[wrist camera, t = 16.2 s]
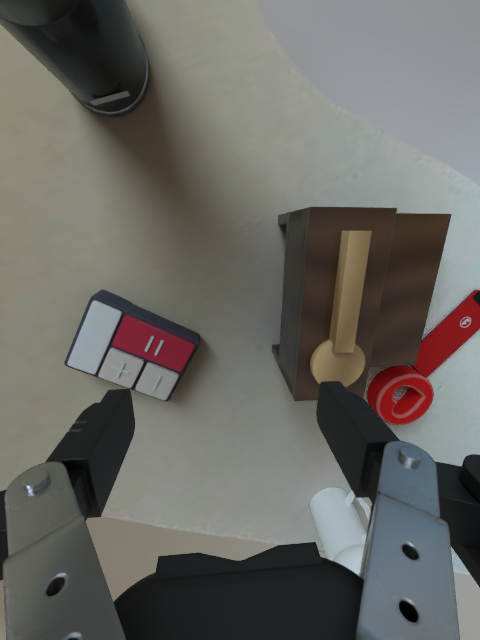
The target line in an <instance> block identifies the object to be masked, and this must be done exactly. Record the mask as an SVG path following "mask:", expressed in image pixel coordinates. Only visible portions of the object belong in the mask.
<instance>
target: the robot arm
mask: <svg viewBox="0 0 480 640" xmlns="http://www.w3.org/2000/svg"><path fill="white" fill-rule="evenodd" d="M0 24H1V25H2V26H3V27H4V28H5V29H6V30H7V31H8V32H9V33H10V34H11V35H12V36H13V37H14V38H15V39H16V40H17V41H18V42H20V43H21V44H22V45H23V46H24V47H25V48H26V49H27V50H28V51H29V52H30V53H31V54H32V55H33V56H34V57H35V58H36V59H37V60H38V61H39V62H40V63H41V64H43V65H44V66H45V67H46V68H47V69H48V70H49V71H50V72H51V73H52V74H53V75H54V76H55V77H56V78H57V79H58V80H59V81H60V82H61V83H62V84H63V85H64V86H65V87H67V88H68V89H69V91H70V92H71V93H72V94H73V95H74V96H75V97H76V98H77V99H78V100H79V101H80V102H81V103H82V104H83V105H84V106H86V107H87V108H89V109H90V110H92V111H94V112H96V113H98V114H101V115H105V116H120V115H124V114H126V113H128V112H130V111H132V110H133V109H134V108H135V107H137V106H138V104H139V103H140V102H141V101H142V99H143V97H144V95H145V93H146V90H147V87H148V83H149V62H148V57H147V53H146V50H145V47H144V45H143V42H142V40H141V38H140V36H139V34H138V32H137V30H136V27H135V25H134V22H133V19H132V17H131V14H130V12H129V9H128V7H127V4H126V2H125V0H0ZM316 415H317V422H318V425H319V428H320V430H321V432H322V433H323V435H324V437H325V439H326V441H327V443H328V445H329V447H330V449H331V451H332V453H333V454H334V456H335V458H336V460H337V462H338V464H339V466H340V468H341V470H342V472H343V474H344V475H345V477H346V479H347V481H348V483H349V485H350V487H351V489H352V491H353V493H354V495H355V496H356V498H363V497H369V498H370V500H371V502H372V506H371V511H370V517H369V522H368V528H367V534H366V540H365V545H364V551H363V557H362V562H361V568H360V573H359V576H358V575H357V574H356V573H354V572H353V571H351V570H350V569H348V568H346V567H345V566H343V565H341V564H339V563H337V562H335V561H332V560H329V559H326V558H322V557H320V555H319V551H318V548H317V545H316V542H311V543H300V544H289V545H278V546H276V547H274V548H271V549H269V550H266V551H264V552H262V553H259V554H257V555H254V556H252V557H250V558H247V559H245V560H242V561H235V560H230V559H225V558H221V557H216V556H211V555H207V554H202V553H190V554H179V555H168V556H159V557H158V563H157V568H156V573H153V574H151V575H149V576H147V577H145V578H143V579H141V580H140V581H138V582H137V583H135V584H134V585H132V586H131V587H130V588H128V589H127V590H126V591H125V592H124V593H122V594H121V595H120V596H119V597H118V598H117V599H116V600H115V601H114V602H113V600H112V597H111V594H110V591H109V588H108V586H107V582H106V580H105V577H104V574H103V571H102V568H101V565H100V562H99V559H98V556H97V553H96V551H95V547H94V545H93V542H92V539H91V536H90V533H89V530H88V527H87V524H86V520H87V518H91V517H101V515H102V512H103V510H104V507H105V505H106V502H107V500H108V497H109V495H110V492H111V490H112V487H113V485H114V482H115V480H116V478H117V475H118V473H119V470H120V468H121V465H122V463H123V460H124V458H125V455H126V453H127V450H128V448H129V445H130V443H131V440H132V438H133V435H134V430H135V418H134V411H133V404H132V397H131V392H130V390H129V389H116V390H108V392H107V393H106V394H105V396H104V397H103V399H102V400H101V402H100V403H94V404H92V405H91V406H90V407H88V408H87V409H85V410H84V411H83V412H82V413H81V414H80V416H79V417H78V418H77V420H76V421H75V424H73V425H72V427H71V428H70V429H69V432H67V433H66V435H65V436H64V437H63V439H62V440H61V441H60V443H59V444H58V446H57V447H56V448H55V450H54V451H53V452H52V454H51V455H50V456H49V458H48V459H47V460H46V462H45V463H42V464H39V465H36V466H34V467H32V468H30V469H28V470H26V471H25V472H23V473H22V474H20V475H19V476H18V477H17V478H15V479H14V480H13V481H12V482H11V484H10V485H9V486H8V488H7V490H4V491H0V580H3V582H4V603H5V621H6V640H460V634H459V624H458V616H457V606H456V605H457V604H456V595H455V584H454V574H453V565H452V555H451V546H452V548H453V549H454V551H455V552H456V554H457V555H458V556H459V558H460V559H461V561H462V562H463V564H464V565H465V567H466V568H467V570H468V571H469V572H470V574H471V575H472V577H473V578H474V580H475V581H476V582H477V584H478V585H479V587H480V455H469V456H467V457H465V459H464V461H463V464H462V467H460V466H455V465H450V464H445V463H440V462H435V461H434V460H433V458H432V457H431V456H430V455H429V454H428V453H427V452H425V451H424V450H423V449H421V448H419V447H418V446H416V445H413V444H411V443H408V442H404V441H400V440H399V439H398V437H397V436H396V435H395V434H394V433H393V432H392V431H391V429H390V428H389V427H388V426H387V425H386V424H385V423H384V421H383V420H382V419H381V418H380V417H379V416H378V415H377V413H376V412H375V411H374V410H373V409H371V407H370V405H369V404H368V403H367V402H366V401H365V400H364V399H363V398H361V397H360V396H358V395H357V394H355V393H354V392H348V390H347V389H346V388H345V387H344V385H343V384H342V383H341V382H340V381H323V382H321V383H320V386H319V394H318V403H317V412H316Z"/></svg>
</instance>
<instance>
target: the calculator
mask: <svg viewBox="0 0 480 640" xmlns="http://www.w3.org/2000/svg"><path fill="white" fill-rule="evenodd" d="M199 339H200V335H199V334H198V333H196V332H194V331H191V330H189V329H187V328H185V327H183V326H180V325H178V324H176V323H174V322H171V321H169V320H167V319H165V318H162V317H160V316H158V315H156V314H153V313H151V312H149V311H147V310H144V309H142V308H140V307H138V306H135V305H133V304H132V303H130V302H129V301H128V300H126V299H123V298H121V297H119V296H117V295H114V294H112V293H110V292H108V291H105V290H101V291H99V292H98V293H96V294H94V295H93V296H92V297H91V298H90V300H89V303H88V305H87V308H86V310H85V313H84V315H83V317H82V320H81V322H80V325H79V327H78V330H77V332H76V335H75V337H74V340H73V342H72V345H71V347H70V350H69V352H68V355H67V357H66V360H65V363H64V364H65V365H66V366H68V367H70V368H73V369H76V370H79V371H82V372H84V373H87V374H90V375H93V376H96V377H98V378H101V379H104V380H107V381H110V382H112V383H115V384H118V385H121V386H124V387H126V388H129V389H132V390H135V391H138V392H140V393H143V394H146V395H149V396H152V397H154V398H157V399H160V400H163V401H169V399H170V397H171V396H172V394H173V392H174V390H175V388H176V386H177V384H178V383H179V381H180V379H181V377H182V375H183V373H184V372H185V370H186V368H187V366H188V364H189V362H190V360H191V359H192V357H193V355H194V353H195V351H196V349H197V348H198V346H199Z"/></svg>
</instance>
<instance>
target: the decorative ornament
mask: <svg viewBox="0 0 480 640" xmlns="http://www.w3.org/2000/svg"><path fill="white" fill-rule="evenodd" d="M402 386H408V387H410V389H409V390H408V391H407V392H406V394H405V395H404V396H403V397H402V398H401V399H400V400H399V401H396V400H395V399H394V398H393V394H394V392H395V390H396V389H398V388H399V387H402ZM433 396H434V393H433V387H432V385H431V383H430V382H429V380H428V379H426V378H425V377H424V376H422V375H421V374H419V373H418V372H417V371H415V370H414V369H412V368H410V367H407V366H394V367H390V368H388V369H386V370H384V371H382V372H381V373H379V374H378V375H377V376H376V377H375V378H374V379H373V380H372V382H371V383H370V385H369V388H368V393H367V399H368V402H369V405H370V406H371V407H372V409H373V410H374V411H375V412H376V413H377V414H378V415H379V417H380V418H381V419H382V420H384V421H385V422H387V423H390V424H395V425H402V424H407V423H410V422H412V421H414V420H416V419H418V418H419V417H421V416H422V415H423V414H424V413H425V412H426V411H427V410H428V408H429V407H430V405H431V403H432V400H433Z"/></svg>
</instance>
